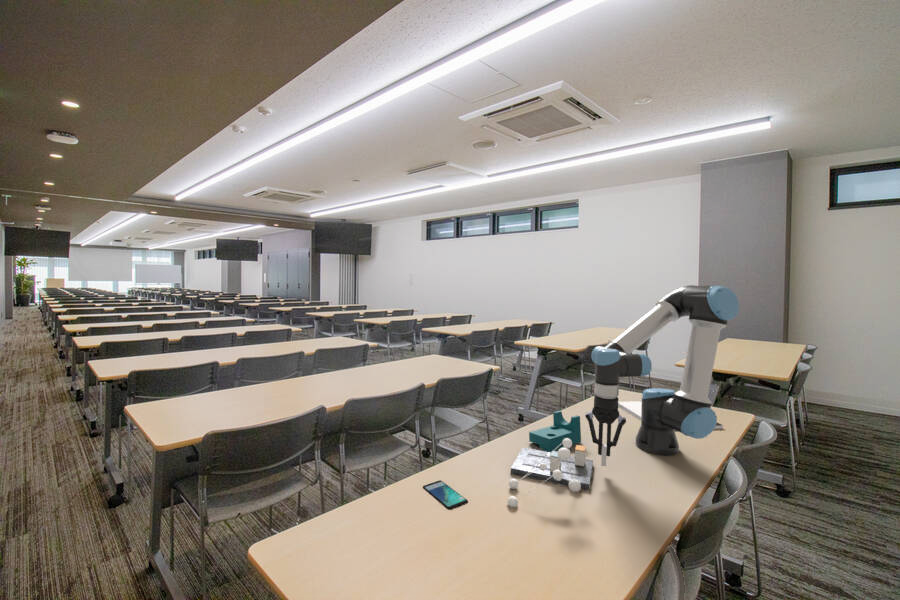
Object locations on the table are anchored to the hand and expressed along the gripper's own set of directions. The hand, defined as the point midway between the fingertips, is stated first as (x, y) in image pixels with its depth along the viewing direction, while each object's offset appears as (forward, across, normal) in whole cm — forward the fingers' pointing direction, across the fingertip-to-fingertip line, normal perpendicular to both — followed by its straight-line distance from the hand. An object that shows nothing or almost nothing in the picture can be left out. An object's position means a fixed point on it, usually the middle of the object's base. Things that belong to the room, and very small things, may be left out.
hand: (603, 464), depth 133 cm
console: (+4, +16, +4) cm, 17 cm away
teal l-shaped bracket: (+4, +19, -19) cm, 27 cm away
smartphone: (+4, +44, +34) cm, 55 cm away
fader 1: (+1, +15, +8) cm, 17 cm away
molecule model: (+4, +16, +21) cm, 27 cm away
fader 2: (+1, +8, 0) cm, 8 cm away
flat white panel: (+4, -25, -75) cm, 79 cm away
